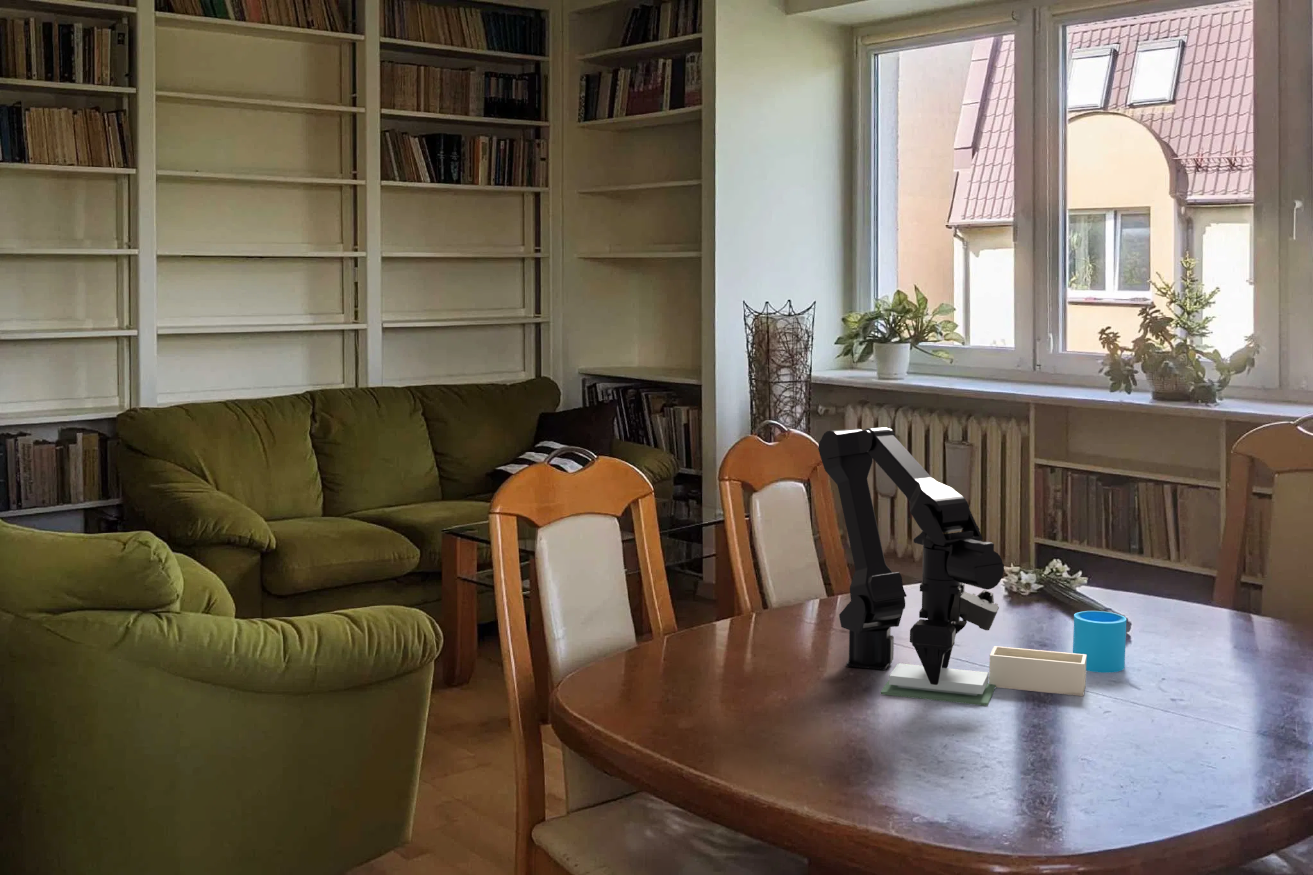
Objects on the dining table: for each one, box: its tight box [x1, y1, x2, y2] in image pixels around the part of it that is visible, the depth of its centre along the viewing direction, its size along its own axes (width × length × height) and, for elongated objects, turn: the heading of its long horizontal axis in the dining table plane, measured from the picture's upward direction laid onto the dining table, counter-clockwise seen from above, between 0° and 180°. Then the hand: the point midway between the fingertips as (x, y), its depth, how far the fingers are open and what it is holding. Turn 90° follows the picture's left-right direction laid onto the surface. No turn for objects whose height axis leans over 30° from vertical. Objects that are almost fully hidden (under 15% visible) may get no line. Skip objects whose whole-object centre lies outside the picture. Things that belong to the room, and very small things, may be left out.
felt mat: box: [880, 679, 997, 707], centre depth 207 cm, size 16×10×1 cm, turn 69°
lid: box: [888, 662, 989, 696], centre depth 207 cm, size 14×7×2 cm, turn 69°
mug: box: [1072, 610, 1127, 674], centre depth 221 cm, size 12×8×8 cm
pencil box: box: [988, 645, 1087, 697], centre depth 208 cm, size 14×6×5 cm, turn 69°
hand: (939, 675), depth 206 cm, fingers open, 9 cm apart
